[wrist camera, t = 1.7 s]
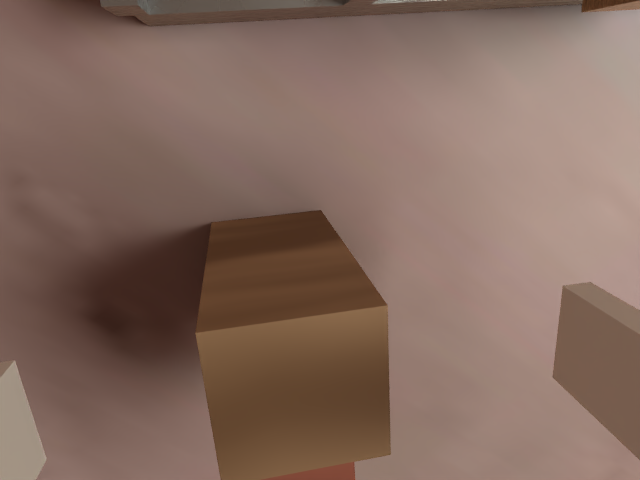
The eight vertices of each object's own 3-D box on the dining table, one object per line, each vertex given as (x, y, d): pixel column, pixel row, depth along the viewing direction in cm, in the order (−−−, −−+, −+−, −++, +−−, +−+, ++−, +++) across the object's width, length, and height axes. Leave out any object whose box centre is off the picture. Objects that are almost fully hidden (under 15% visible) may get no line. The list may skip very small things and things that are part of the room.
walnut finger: (211, 222, 17) (195, 332, 9) (321, 210, 17) (387, 304, 10) (232, 365, 19) (233, 550, 11) (330, 350, 19) (391, 516, 12)
